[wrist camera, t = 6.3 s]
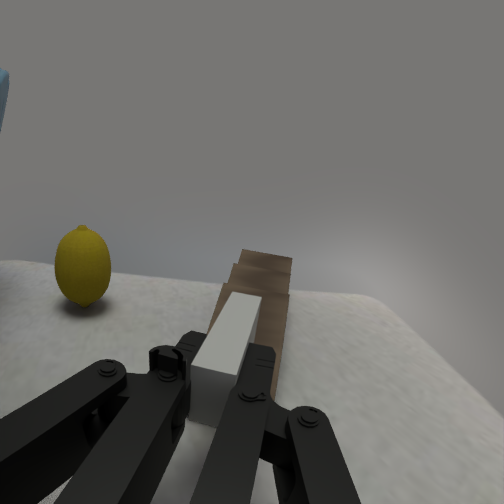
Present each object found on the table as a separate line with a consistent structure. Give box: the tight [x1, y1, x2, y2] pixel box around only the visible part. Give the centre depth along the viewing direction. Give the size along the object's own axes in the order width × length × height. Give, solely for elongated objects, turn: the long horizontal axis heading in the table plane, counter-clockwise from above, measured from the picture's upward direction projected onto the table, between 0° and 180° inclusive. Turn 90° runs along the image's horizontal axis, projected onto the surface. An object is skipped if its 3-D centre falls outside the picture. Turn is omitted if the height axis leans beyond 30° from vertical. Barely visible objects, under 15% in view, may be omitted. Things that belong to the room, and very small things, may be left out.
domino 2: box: [228, 263, 291, 294], centre depth 24 cm, size 5×2×10 cm
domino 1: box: [238, 249, 292, 273], centre depth 28 cm, size 5×2×10 cm
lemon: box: [55, 225, 111, 307], centre depth 26 cm, size 6×6×8 cm
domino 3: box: [188, 283, 289, 413], centre depth 20 cm, size 5×2×10 cm
